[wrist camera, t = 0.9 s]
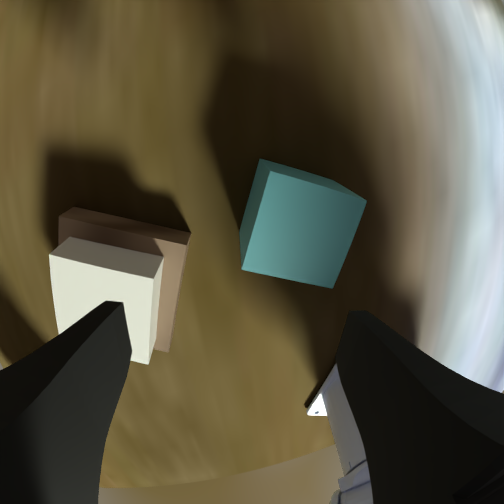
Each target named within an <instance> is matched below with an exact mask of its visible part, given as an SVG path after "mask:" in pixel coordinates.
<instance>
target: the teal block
mask: <svg viewBox="0 0 504 504" xmlns="http://www.w3.org/2000/svg"><path fill="white" fill-rule="evenodd" d="M366 203H367V201H366V200H365V199H363V198H362V197H360V196H358V195H357V194H355V193H354V192H352V191H350V190H349V189H347V188H345V187H344V186H342V185H340V184H339V183H337V182H335V181H334V180H331V179H328V178H325V177H322V176H319V175H315V174H312V173H309V172H306V171H302V170H299V169H296V168H292V167H289V166H285V165H282V164H278V163H275V162H271V161H268V160H264V159H259V163H258V166H257V170H256V173H255V177H254V180H253V184H252V188H251V191H250V195H249V198H248V202H247V205H246V209H245V213H244V216H243V220H242V224H241V227H240V231H239V236H240V252H241V268H242V270H246V271H250V272H255V273H260V274H264V275H269V276H274V277H278V278H283V279H288V280H293V281H298V282H302V283H307V284H312V285H317V286H322V287H327V288H332V289H333V286H334V284H335V282H336V279H337V277H338V275H339V272H340V270H341V268H342V265H343V263H344V260H345V258H346V255H347V253H348V250H349V248H350V245H351V243H352V240H353V238H354V235H355V233H356V230H357V227H358V225H359V222H360V219H361V217H362V214H363V211H364V208H365V206H366Z"/></svg>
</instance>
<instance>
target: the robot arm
mask: <svg viewBox="0 0 504 504" xmlns="http://www.w3.org/2000/svg"><path fill="white" fill-rule="evenodd" d="M131 355H132V346H131V342H130V337H129V332H128V326H127V321H126V315H125V310H124V304H123V302H117V301H107V300H106V301H104V302H103V303H101V304H100V305H98V306H97V307H96V308H94V309H93V310H91V311H90V312H89V313H87V314H86V315H85V316H83V317H82V318H81V319H79V320H78V321H77V322H75V323H74V324H73V325H71V326H70V327H69V328H67V329H66V330H65V331H63V332H62V333H61V334H59V335H58V336H56V337H55V338H53V339H52V340H50V341H49V342H48V343H46V344H45V345H43V346H42V347H40V348H39V349H37V350H36V351H34V352H33V353H31V354H29V355H28V356H26V357H25V358H23V359H21V360H19V361H17V362H16V363H14V364H12V365H10V366H8V367H6V368H4V369H2V370H0V504H98V493H99V482H100V473H101V465H102V458H103V452H104V447H105V441H106V437H107V434H108V430H109V427H110V424H111V421H112V418H113V415H114V412H115V409H116V406H117V403H118V400H119V398H120V395H121V392H122V389H123V386H124V383H125V380H126V377H127V373H128V369H129V365H130V360H131ZM335 359H336V364H335V366H334V367H333V369H332V371H331V372H330V374H329V376H328V377H327V379H326V380H325V382H324V384H323V385H322V387H321V388H320V390H319V392H318V393H317V395H316V396H315V398H314V399H313V401H312V402H311V404H310V405H309V407H308V408H307V410H306V411H307V414H308V415H327V417H328V420H329V424H330V427H331V430H332V434H333V437H334V441H335V444H336V448H337V451H338V455H339V459H340V462H341V466H342V469H343V473H344V477H342V478H340V479H338V483H339V486H340V489H339V490H337V491H335V492H334V494H333V496H332V498H331V501H330V503H329V504H504V394H503V393H500V392H497V391H494V390H492V389H489V388H487V387H485V386H482V385H480V384H478V383H476V382H473V381H471V380H469V379H467V378H465V377H463V376H461V375H460V374H458V373H456V372H454V371H453V370H451V369H449V368H447V367H446V366H444V365H442V364H441V363H439V362H438V361H436V360H435V359H433V358H432V357H430V356H429V355H427V354H426V353H424V352H423V351H421V350H420V349H418V348H417V347H416V346H414V345H413V344H411V343H410V342H409V341H407V340H406V339H405V338H403V337H402V336H401V335H399V334H398V333H397V332H395V331H394V330H393V329H391V328H390V327H389V326H387V325H386V324H385V323H383V322H382V321H381V320H379V319H378V318H376V317H375V316H374V315H372V314H371V313H369V312H367V311H349V314H348V317H347V321H346V324H345V327H344V331H343V334H342V337H341V340H340V343H339V346H338V350H337V353H336V356H335Z"/></svg>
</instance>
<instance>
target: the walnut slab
mask: <svg viewBox="0 0 504 504" xmlns="http://www.w3.org/2000/svg"><path fill="white" fill-rule="evenodd" d="M69 237H74V238H78V239H83V240H87V241H92V242H96V243H101V244H106V245H110V246H115V247H119V248H124V249H129V250H134V251H138V252H143V253H148V254H153V255H158V256H162V257H164V261H163V269H162V278H161V287H160V297H159V307H158V319H157V332H156V340H155V343H154V347H153V349H156V350H160V351H164V352H169V350H170V345H171V341H172V337H173V331H174V325H175V318H176V312H177V306H178V300H179V295H180V289H181V283H182V278H183V272H184V267H185V262H186V257H187V252H188V247H189V242H190V237H191V233H190V232H185V231H181V230H176V229H172V228H168V227H163V226H159V225H154V224H150V223H145V222H141V221H136V220H132V219H127V218H123V217H118V216H114V215H109V214H105V213H100V212H96V211H91V210H87V209H82V208H78V207H72V208H71V209H69V210H68V211H66V212H64V213H63V214H61V215H60V216H59V231H58V246H59V245H60V244H62V243H63V242H64V241H65V240H66V239H68V238H69Z"/></svg>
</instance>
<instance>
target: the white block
mask: <svg viewBox="0 0 504 504" xmlns="http://www.w3.org/2000/svg"><path fill="white" fill-rule="evenodd" d="M49 260H50V272H51V283H52V292H53V300H54V307H55V313H56V320H57V326H58V331H59V334H61V333H62V332H63V331H65V330H66V329H67V328H69V327H70V326H71V325H73V324H74V323H75V322H77V321H78V320H79V319H81V318H82V317H83V316H85V315H86V314H87V313H89V312H90V311H91V310H93V309H94V308H96V307H97V306H98V305H100V304H101V303H103V302H104V301H106V300H107V301H117V302H123V304H124V310H125V315H126V321H127V326H128V332H129V337H130V342H131V346H132V355H131V361H135V362H140V363H144V364H149V361H150V357H151V354H152V350H153V347H154V343H155V340H156V332H157V319H158V307H159V297H160V287H161V278H162V269H163V261H164V257H162V256H158V255H153V254H148V253H143V252H138V251H134V250H129V249H124V248H119V247H115V246H110V245H106V244H101V243H96V242H92V241H87V240H83V239H78V238H74V237H69V238H68V239H66V240H65V241H64V242H63V243H62V244H60V245H59V246H58V247H57V248H56V249H55V250H53V251H52V252H51V253H50V254H49Z"/></svg>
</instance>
